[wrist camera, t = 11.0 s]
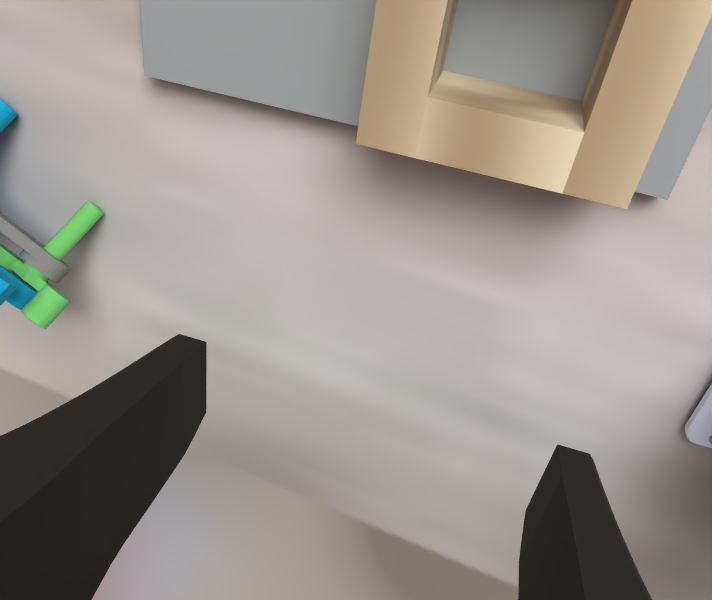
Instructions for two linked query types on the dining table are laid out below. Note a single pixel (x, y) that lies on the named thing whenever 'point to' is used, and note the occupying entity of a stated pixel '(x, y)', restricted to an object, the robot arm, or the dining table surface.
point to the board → (351, 50)
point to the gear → (38, 259)
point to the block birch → (530, 100)
